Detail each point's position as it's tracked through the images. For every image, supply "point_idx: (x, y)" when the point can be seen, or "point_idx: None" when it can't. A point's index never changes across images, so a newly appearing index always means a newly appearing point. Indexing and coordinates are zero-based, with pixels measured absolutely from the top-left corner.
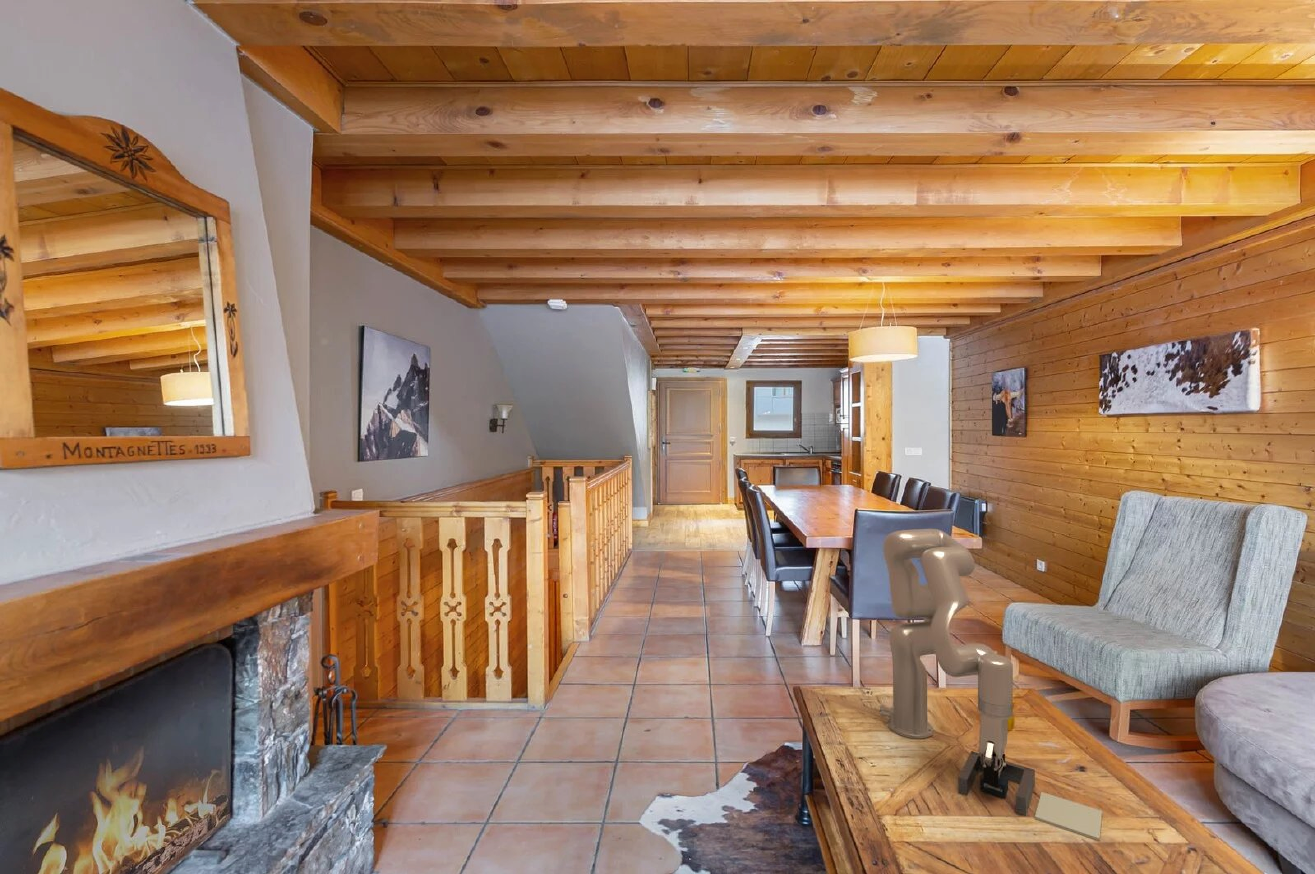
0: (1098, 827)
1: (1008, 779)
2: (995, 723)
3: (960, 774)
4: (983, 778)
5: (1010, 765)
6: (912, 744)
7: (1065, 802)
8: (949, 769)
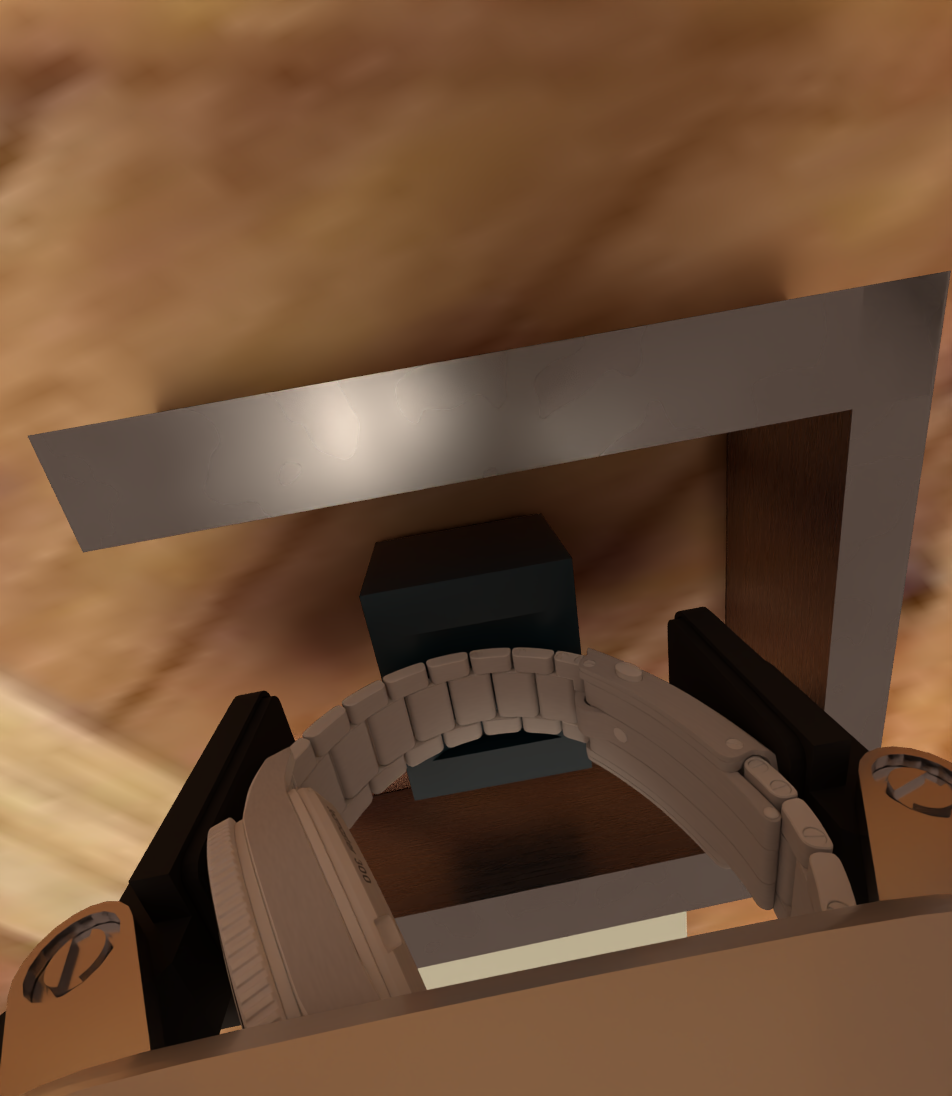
0: None
1: None
2: None
3: (128, 432)
4: (225, 717)
5: None
6: None
7: (649, 938)
8: (546, 126)
